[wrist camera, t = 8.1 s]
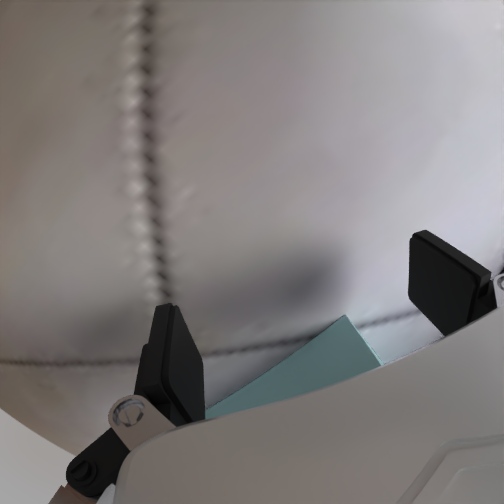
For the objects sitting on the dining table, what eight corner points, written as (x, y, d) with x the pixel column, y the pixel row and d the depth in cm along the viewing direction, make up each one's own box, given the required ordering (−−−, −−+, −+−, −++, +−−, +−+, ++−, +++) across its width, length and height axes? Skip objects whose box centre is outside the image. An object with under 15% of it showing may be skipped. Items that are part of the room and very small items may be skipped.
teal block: (182, 419, 17) (183, 478, 13) (342, 311, 16) (382, 366, 11) (259, 457, 20) (270, 504, 16) (392, 374, 19) (422, 419, 15)
